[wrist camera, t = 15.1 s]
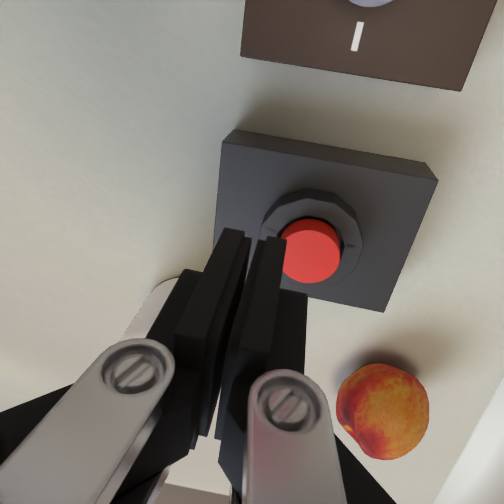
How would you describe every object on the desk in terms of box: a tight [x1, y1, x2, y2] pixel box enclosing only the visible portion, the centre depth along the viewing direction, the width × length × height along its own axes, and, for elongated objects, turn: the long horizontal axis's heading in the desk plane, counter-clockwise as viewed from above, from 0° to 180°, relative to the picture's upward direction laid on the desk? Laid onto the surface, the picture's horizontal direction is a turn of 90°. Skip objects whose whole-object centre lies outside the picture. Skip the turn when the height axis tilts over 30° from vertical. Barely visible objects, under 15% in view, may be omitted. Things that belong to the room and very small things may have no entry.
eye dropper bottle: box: [119, 278, 178, 342], centre depth 31 cm, size 4×6×12 cm
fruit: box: [336, 363, 429, 460], centre depth 34 cm, size 8×8×8 cm
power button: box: [281, 218, 340, 283], centre depth 25 cm, size 4×4×2 cm
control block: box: [213, 129, 438, 313], centre depth 27 cm, size 14×11×6 cm
